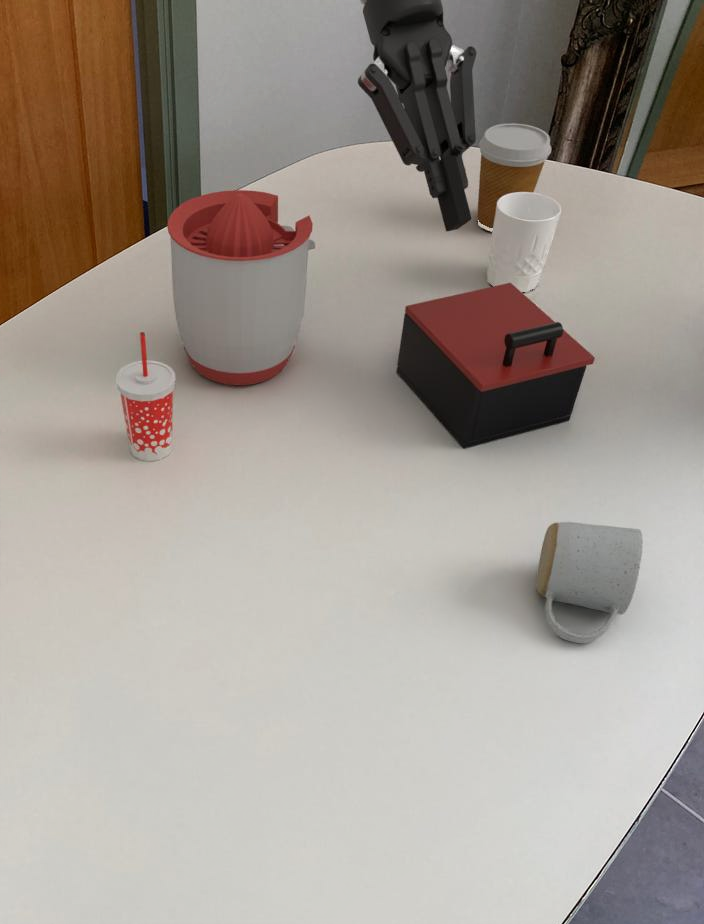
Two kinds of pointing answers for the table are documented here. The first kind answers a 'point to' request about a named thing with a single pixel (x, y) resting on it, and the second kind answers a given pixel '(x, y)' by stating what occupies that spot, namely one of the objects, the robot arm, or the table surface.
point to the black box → (481, 394)
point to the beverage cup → (147, 406)
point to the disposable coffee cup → (509, 164)
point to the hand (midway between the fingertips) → (458, 225)
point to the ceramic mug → (588, 571)
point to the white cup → (521, 239)
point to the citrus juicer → (238, 284)
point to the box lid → (498, 336)
